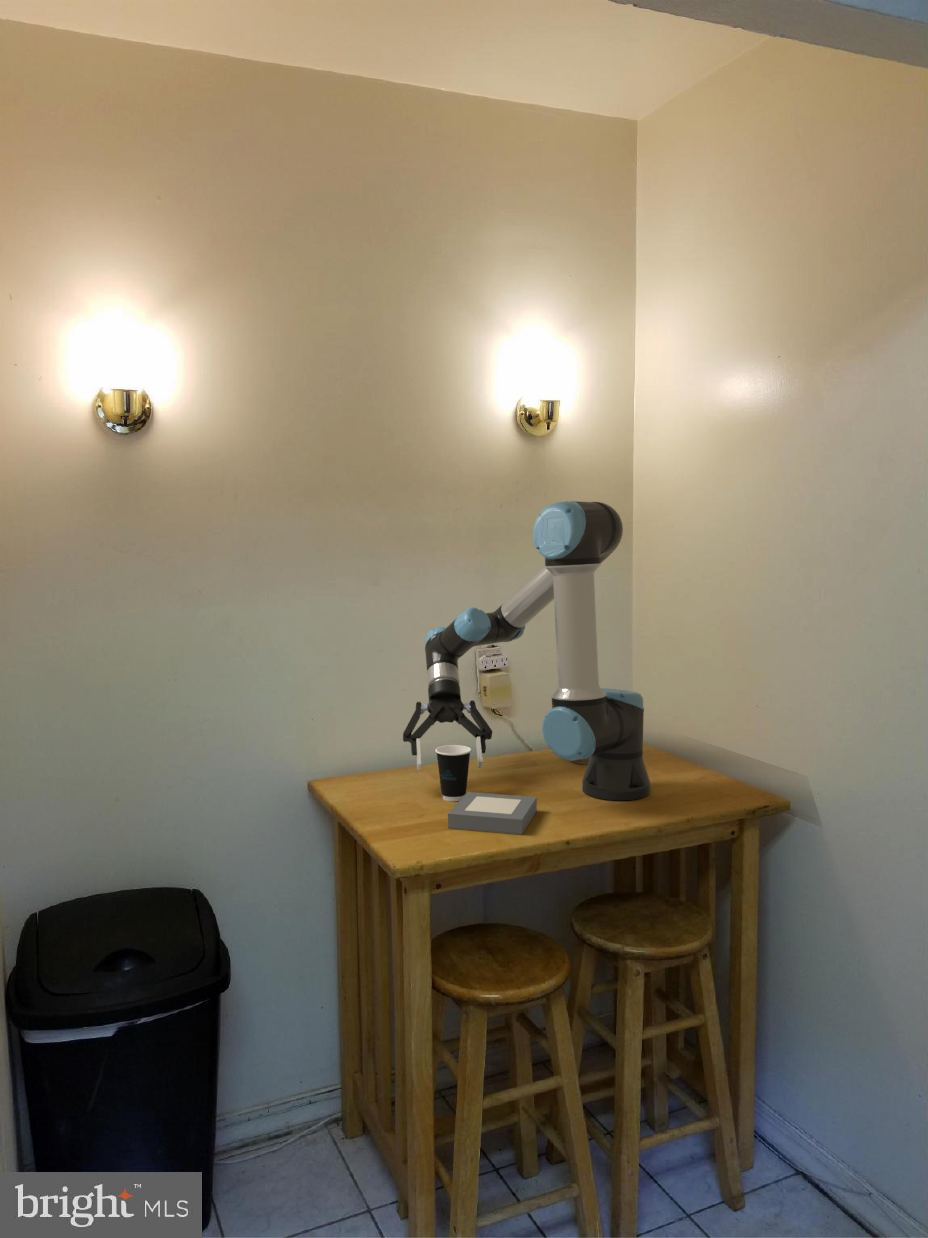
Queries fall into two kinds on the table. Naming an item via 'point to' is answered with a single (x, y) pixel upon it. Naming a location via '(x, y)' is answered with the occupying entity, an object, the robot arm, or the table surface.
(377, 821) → the table surface
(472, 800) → the plinth
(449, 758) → the dixie cup
